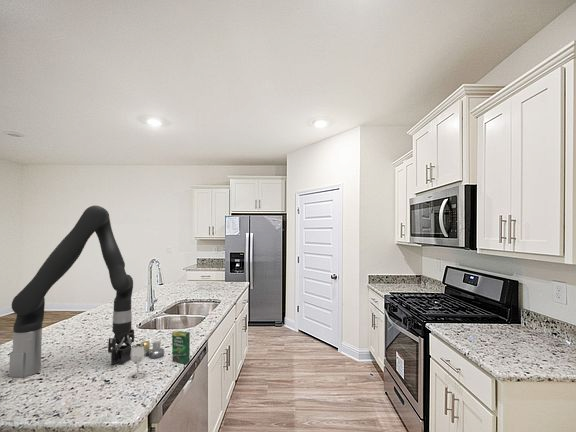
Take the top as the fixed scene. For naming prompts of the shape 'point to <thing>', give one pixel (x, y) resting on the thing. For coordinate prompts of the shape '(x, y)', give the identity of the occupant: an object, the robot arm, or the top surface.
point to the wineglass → (137, 357)
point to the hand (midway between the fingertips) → (121, 357)
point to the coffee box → (181, 347)
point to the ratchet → (155, 351)
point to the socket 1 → (122, 354)
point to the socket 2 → (146, 344)
